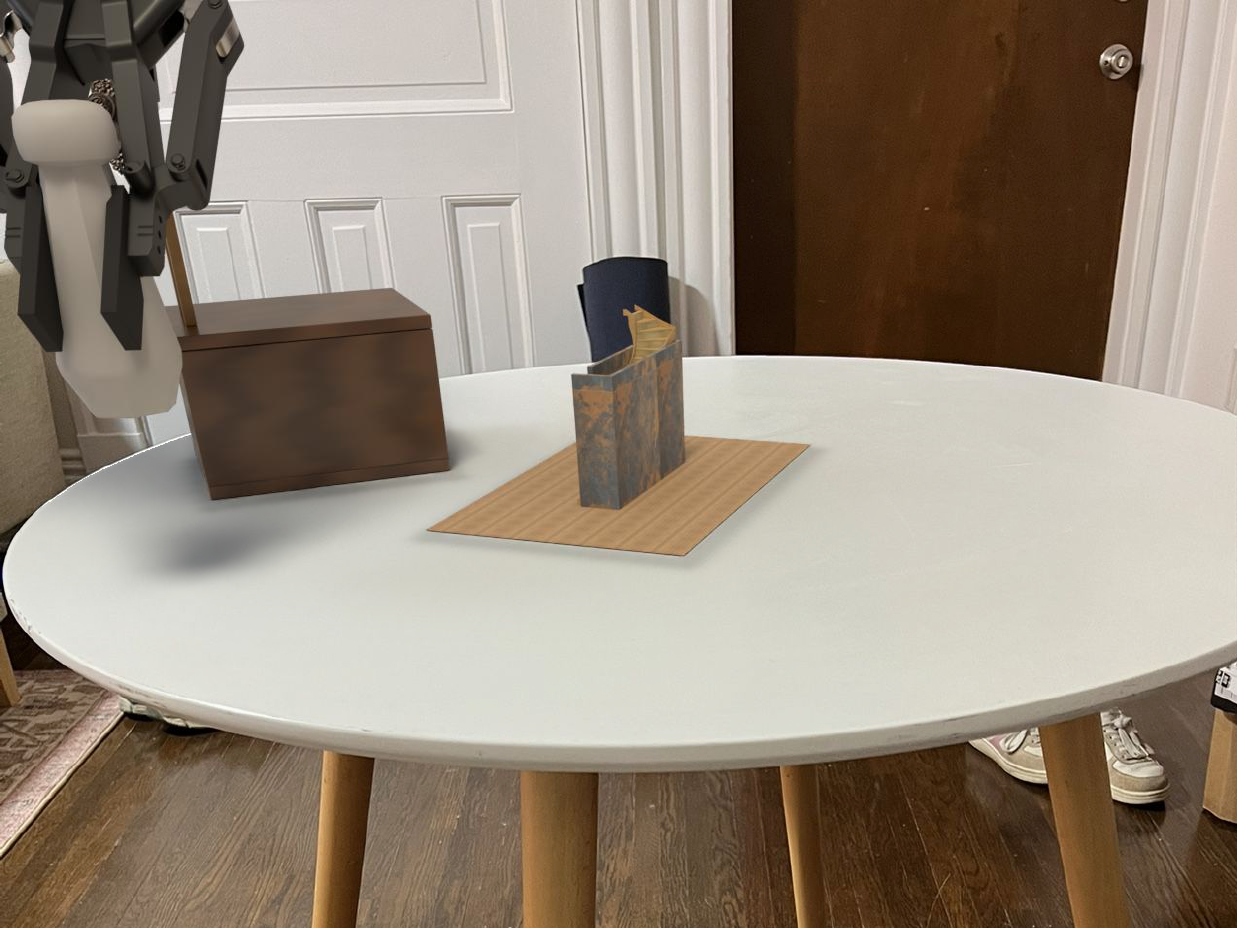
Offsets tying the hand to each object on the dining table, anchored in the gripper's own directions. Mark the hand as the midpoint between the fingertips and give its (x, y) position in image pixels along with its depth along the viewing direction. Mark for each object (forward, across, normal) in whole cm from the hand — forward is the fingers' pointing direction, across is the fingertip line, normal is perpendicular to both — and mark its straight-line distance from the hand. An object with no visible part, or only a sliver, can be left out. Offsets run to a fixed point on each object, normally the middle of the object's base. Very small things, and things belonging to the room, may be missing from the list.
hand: (80, 331), depth 60 cm
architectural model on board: (-5, +25, +24) cm, 35 cm away
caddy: (-11, +3, +30) cm, 32 cm away
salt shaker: (0, 0, +6) cm, 6 cm away
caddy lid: (-17, +2, +23) cm, 29 cm away
